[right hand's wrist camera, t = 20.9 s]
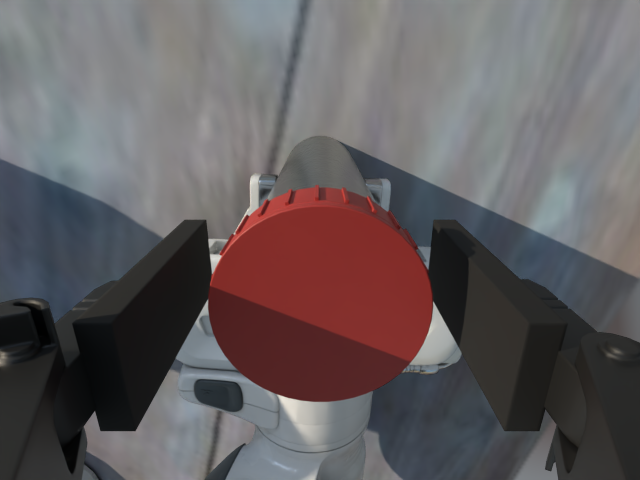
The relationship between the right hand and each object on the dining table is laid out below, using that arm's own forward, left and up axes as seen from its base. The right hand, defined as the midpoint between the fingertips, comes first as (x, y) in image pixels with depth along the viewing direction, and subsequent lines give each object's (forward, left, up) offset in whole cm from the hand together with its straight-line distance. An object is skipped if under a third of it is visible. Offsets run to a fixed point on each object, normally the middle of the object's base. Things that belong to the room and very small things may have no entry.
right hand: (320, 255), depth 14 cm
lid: (0, 0, +4) cm, 4 cm away
